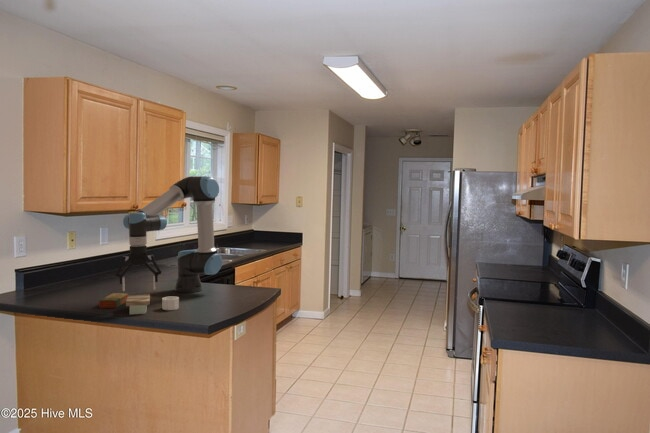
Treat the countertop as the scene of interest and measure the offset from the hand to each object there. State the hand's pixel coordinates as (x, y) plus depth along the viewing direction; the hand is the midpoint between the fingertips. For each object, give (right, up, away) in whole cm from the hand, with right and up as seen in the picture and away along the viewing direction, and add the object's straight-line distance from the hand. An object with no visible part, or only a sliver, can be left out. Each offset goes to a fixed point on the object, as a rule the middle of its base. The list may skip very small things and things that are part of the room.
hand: (139, 289), depth 234 cm
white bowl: (+13, -10, +5) cm, 17 cm away
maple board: (0, -6, 0) cm, 6 cm away
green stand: (0, -10, 0) cm, 10 cm away
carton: (-17, -9, +12) cm, 23 cm away
